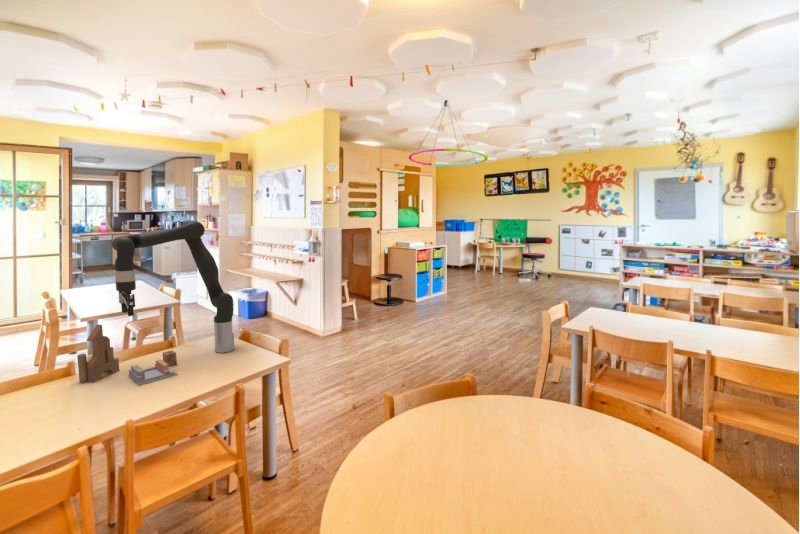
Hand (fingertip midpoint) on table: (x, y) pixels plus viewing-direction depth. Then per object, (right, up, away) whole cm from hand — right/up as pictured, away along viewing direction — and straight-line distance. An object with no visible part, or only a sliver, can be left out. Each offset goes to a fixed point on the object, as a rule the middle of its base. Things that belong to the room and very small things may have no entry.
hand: (127, 314), depth 184 cm
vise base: (+11, -30, +2) cm, 32 cm away
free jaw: (+13, -28, +5) cm, 31 cm away
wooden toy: (-13, -29, 0) cm, 32 cm away
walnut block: (+10, -28, +16) cm, 34 cm away
